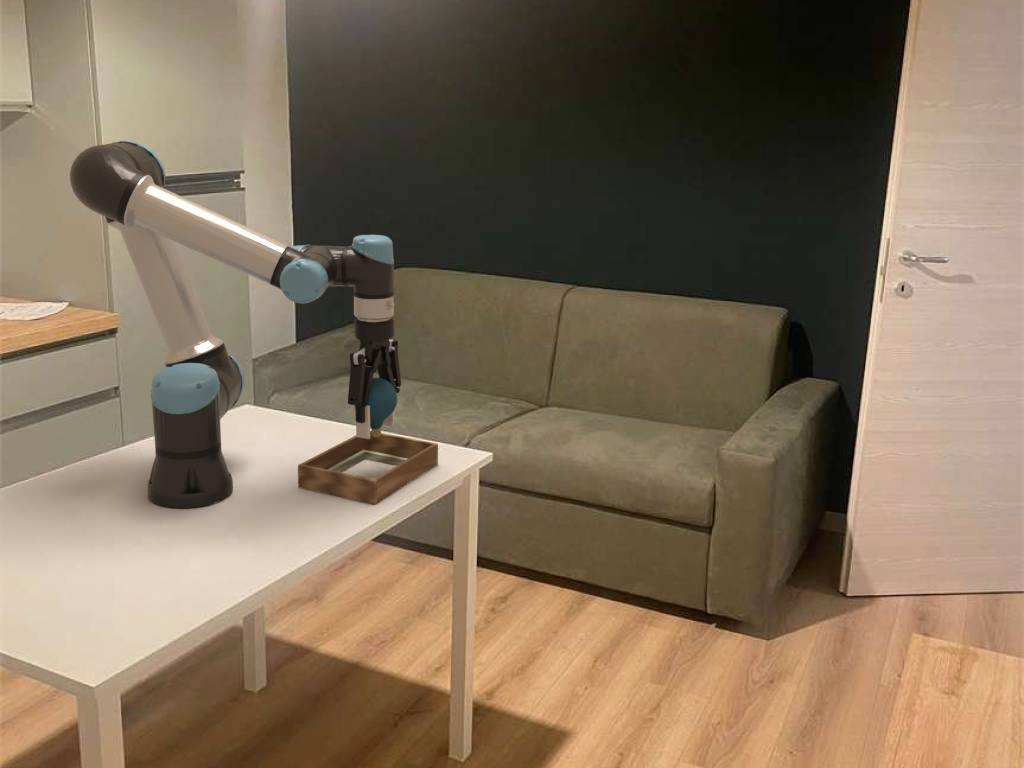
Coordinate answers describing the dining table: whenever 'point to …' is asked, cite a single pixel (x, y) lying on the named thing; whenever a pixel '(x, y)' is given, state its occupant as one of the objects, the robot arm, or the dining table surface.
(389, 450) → the wooden frame
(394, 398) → the teal bulb shape
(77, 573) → the dining table surface
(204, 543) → the dining table surface
